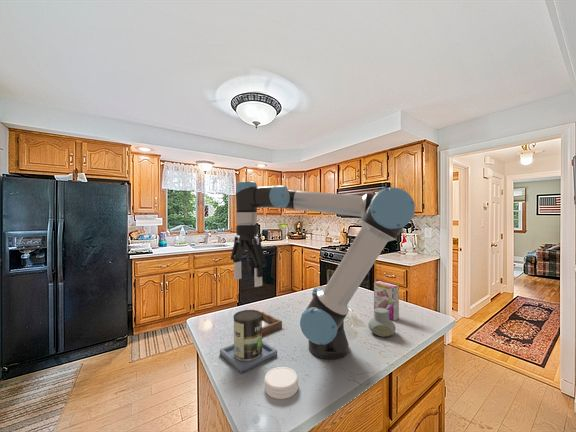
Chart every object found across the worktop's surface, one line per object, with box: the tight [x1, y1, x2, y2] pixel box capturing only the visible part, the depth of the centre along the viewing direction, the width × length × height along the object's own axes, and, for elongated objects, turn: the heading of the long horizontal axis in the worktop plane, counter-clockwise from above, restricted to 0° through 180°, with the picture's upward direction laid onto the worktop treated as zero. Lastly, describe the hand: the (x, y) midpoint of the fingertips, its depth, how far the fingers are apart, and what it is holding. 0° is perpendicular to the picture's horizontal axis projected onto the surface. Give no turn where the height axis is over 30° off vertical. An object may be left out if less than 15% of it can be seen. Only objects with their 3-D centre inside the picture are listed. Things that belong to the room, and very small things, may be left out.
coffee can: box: [233, 309, 263, 361], centre depth 90 cm, size 10×10×14 cm
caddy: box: [260, 311, 283, 337], centre depth 113 cm, size 15×15×3 cm
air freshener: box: [368, 308, 396, 338], centre depth 106 cm, size 11×8×10 cm
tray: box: [219, 340, 278, 375], centre depth 90 cm, size 15×15×2 cm
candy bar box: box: [373, 280, 400, 322], centre depth 123 cm, size 11×5×16 cm, turn 34°
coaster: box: [263, 366, 299, 400], centre depth 73 cm, size 10×10×4 cm
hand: (247, 282), depth 90 cm, fingers open, 13 cm apart
